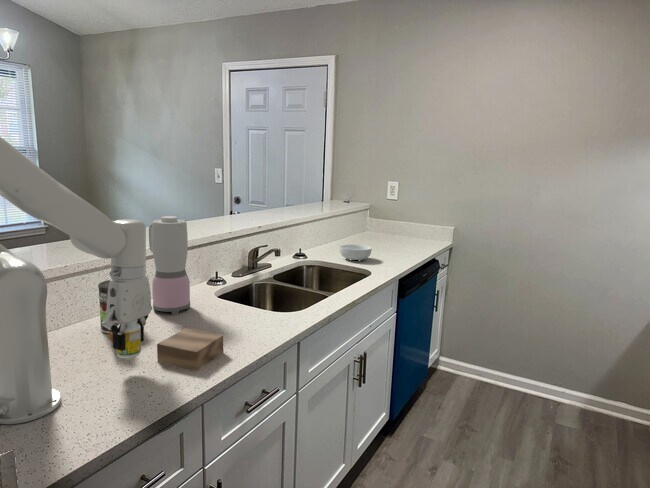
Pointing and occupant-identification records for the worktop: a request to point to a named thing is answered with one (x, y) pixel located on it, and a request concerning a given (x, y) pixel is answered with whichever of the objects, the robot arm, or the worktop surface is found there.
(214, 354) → the brown cardboard box
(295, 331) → the worktop surface
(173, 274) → the blender
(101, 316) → the food can
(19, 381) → the robot arm
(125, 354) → the supplement bottle
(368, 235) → the worktop surface
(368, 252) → the cereal bowl
